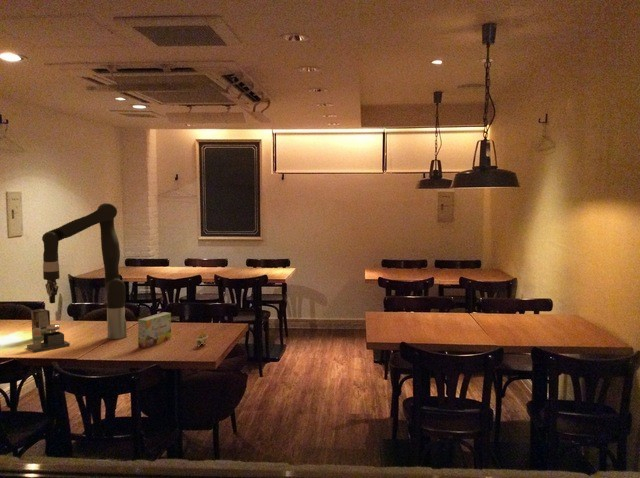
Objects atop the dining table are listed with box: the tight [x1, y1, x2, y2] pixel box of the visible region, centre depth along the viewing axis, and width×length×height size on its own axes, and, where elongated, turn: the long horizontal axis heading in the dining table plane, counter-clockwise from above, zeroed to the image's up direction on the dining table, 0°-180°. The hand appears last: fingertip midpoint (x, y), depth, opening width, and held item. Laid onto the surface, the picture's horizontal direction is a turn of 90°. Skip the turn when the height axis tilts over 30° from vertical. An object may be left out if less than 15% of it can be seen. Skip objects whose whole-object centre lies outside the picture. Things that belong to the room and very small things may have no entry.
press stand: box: [26, 328, 71, 353], centre depth 270 cm, size 17×12×10 cm
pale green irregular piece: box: [194, 332, 209, 346], centre depth 274 cm, size 12×18×7 cm, turn 168°
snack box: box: [137, 311, 172, 349], centre depth 278 cm, size 21×6×15 cm, turn 160°
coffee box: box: [30, 308, 51, 342], centre depth 285 cm, size 9×6×16 cm
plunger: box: [35, 323, 60, 334], centre depth 269 cm, size 12×6×4 cm, turn 135°
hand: (52, 302), depth 270 cm, fingers closed
